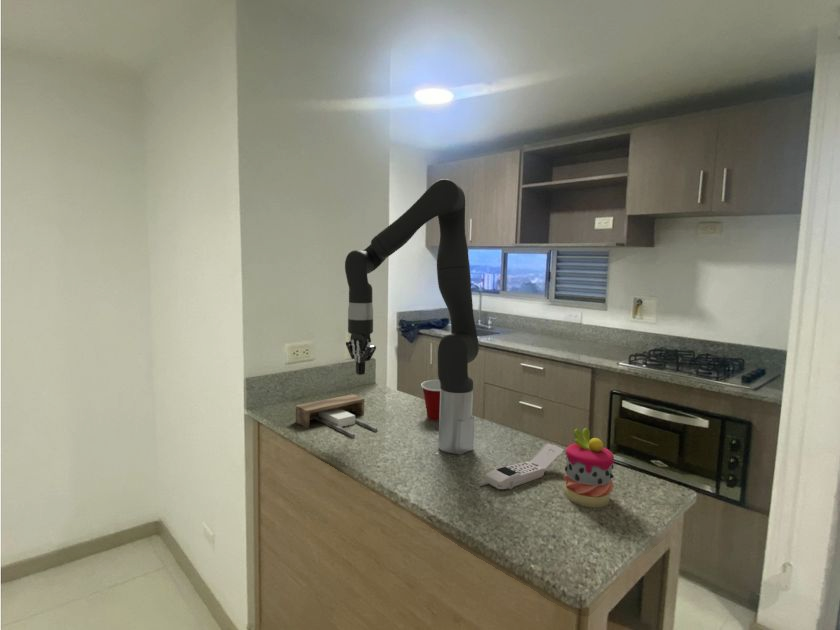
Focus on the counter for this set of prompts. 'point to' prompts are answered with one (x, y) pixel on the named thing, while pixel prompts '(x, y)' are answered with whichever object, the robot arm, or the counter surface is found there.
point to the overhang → (344, 402)
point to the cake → (588, 471)
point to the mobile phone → (523, 469)
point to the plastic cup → (432, 398)
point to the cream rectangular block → (338, 416)
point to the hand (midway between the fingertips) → (360, 374)
